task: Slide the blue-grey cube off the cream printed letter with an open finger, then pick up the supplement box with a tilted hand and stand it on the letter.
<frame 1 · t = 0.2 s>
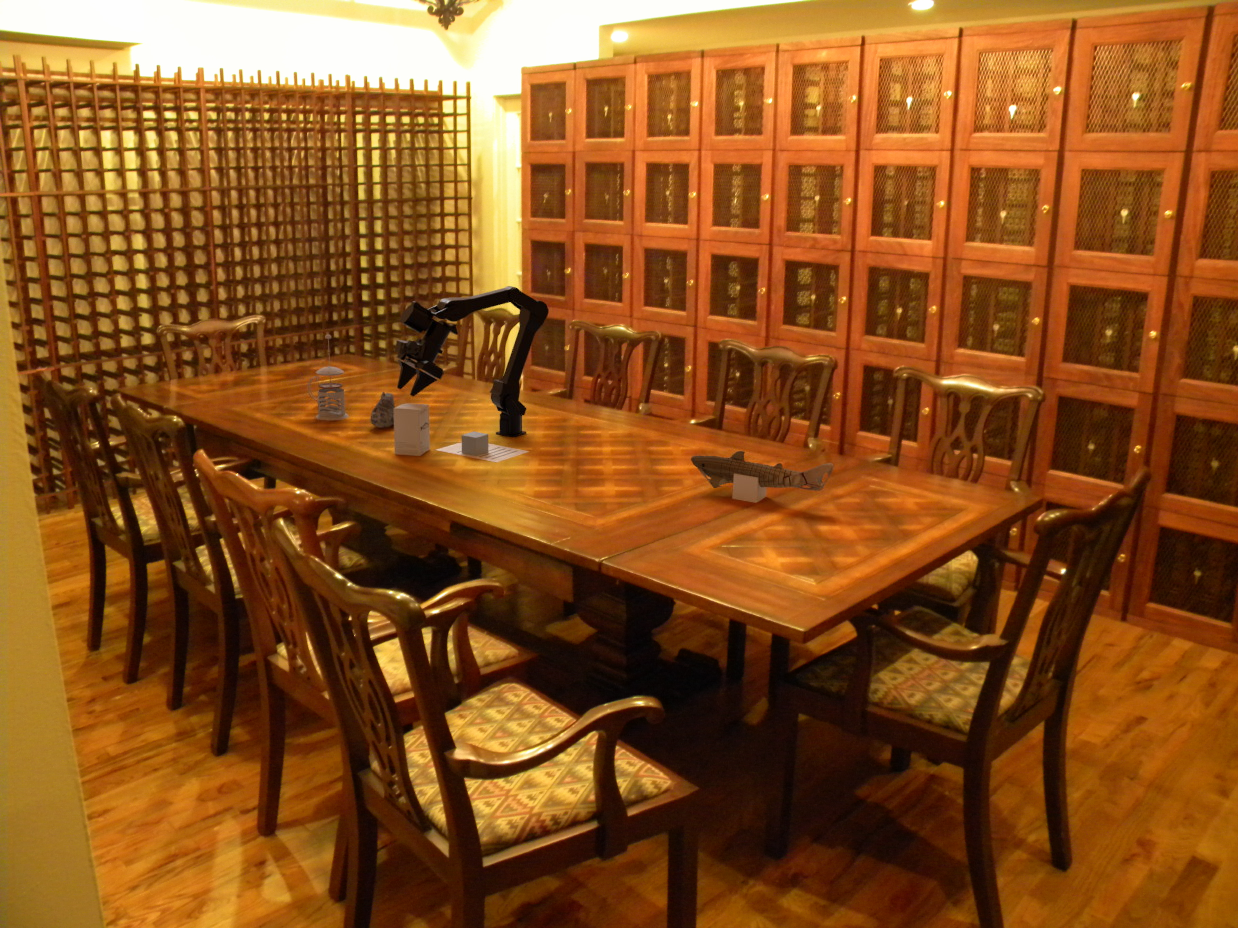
hand: (405, 392, 286), 15 cm above the table, fingers open, 9 cm apart
cube: (475, 452, 284), resting on letter
wood carving: (757, 499, 249), on the table
supplement box: (412, 453, 284), on the table
letter: (482, 451, 286), on the table
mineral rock: (382, 426, 312), on the table
french press: (329, 417, 322), on the table
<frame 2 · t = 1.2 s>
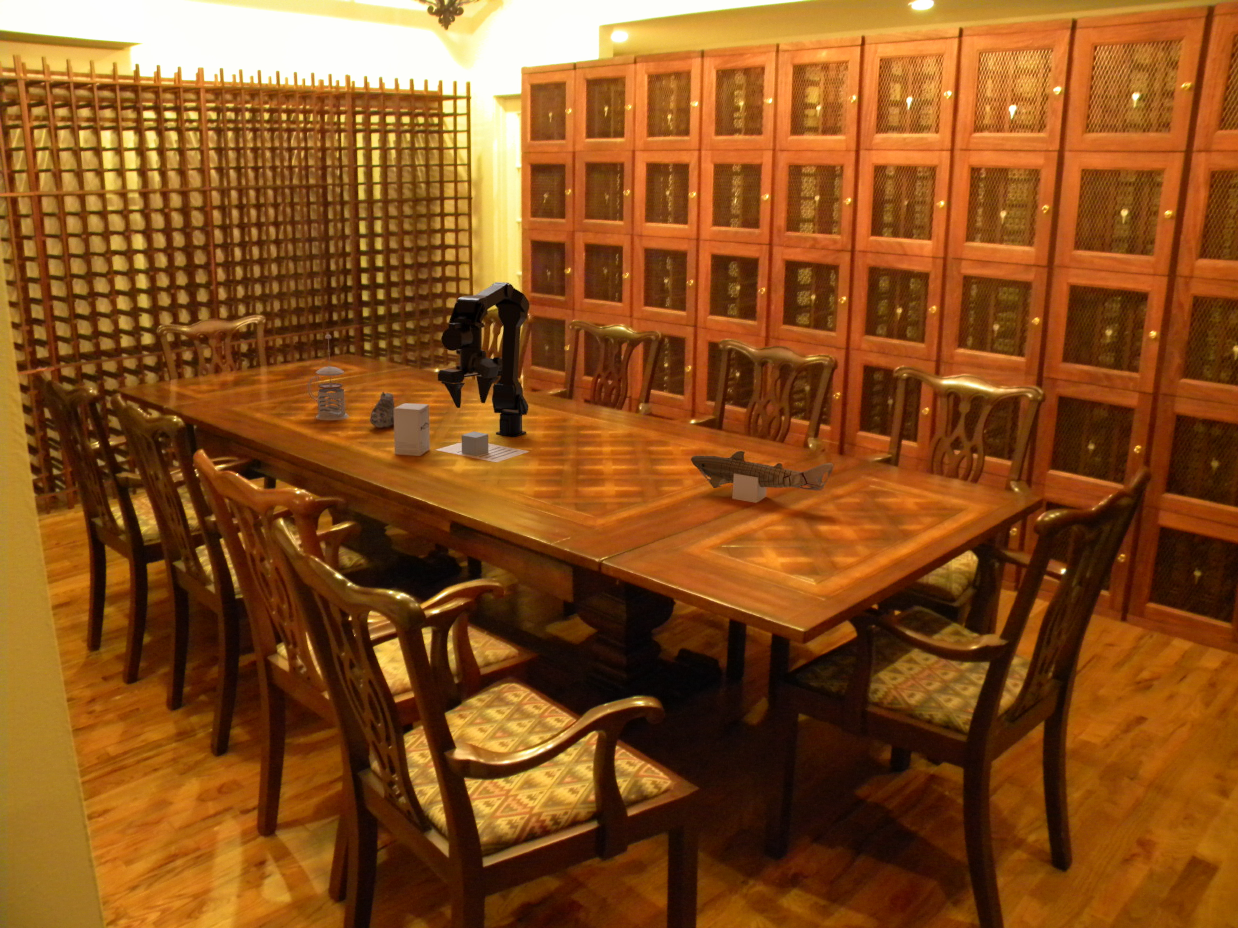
hand: (470, 405, 280), 13 cm above the table, fingers open, 9 cm apart
nothing on the table moved.
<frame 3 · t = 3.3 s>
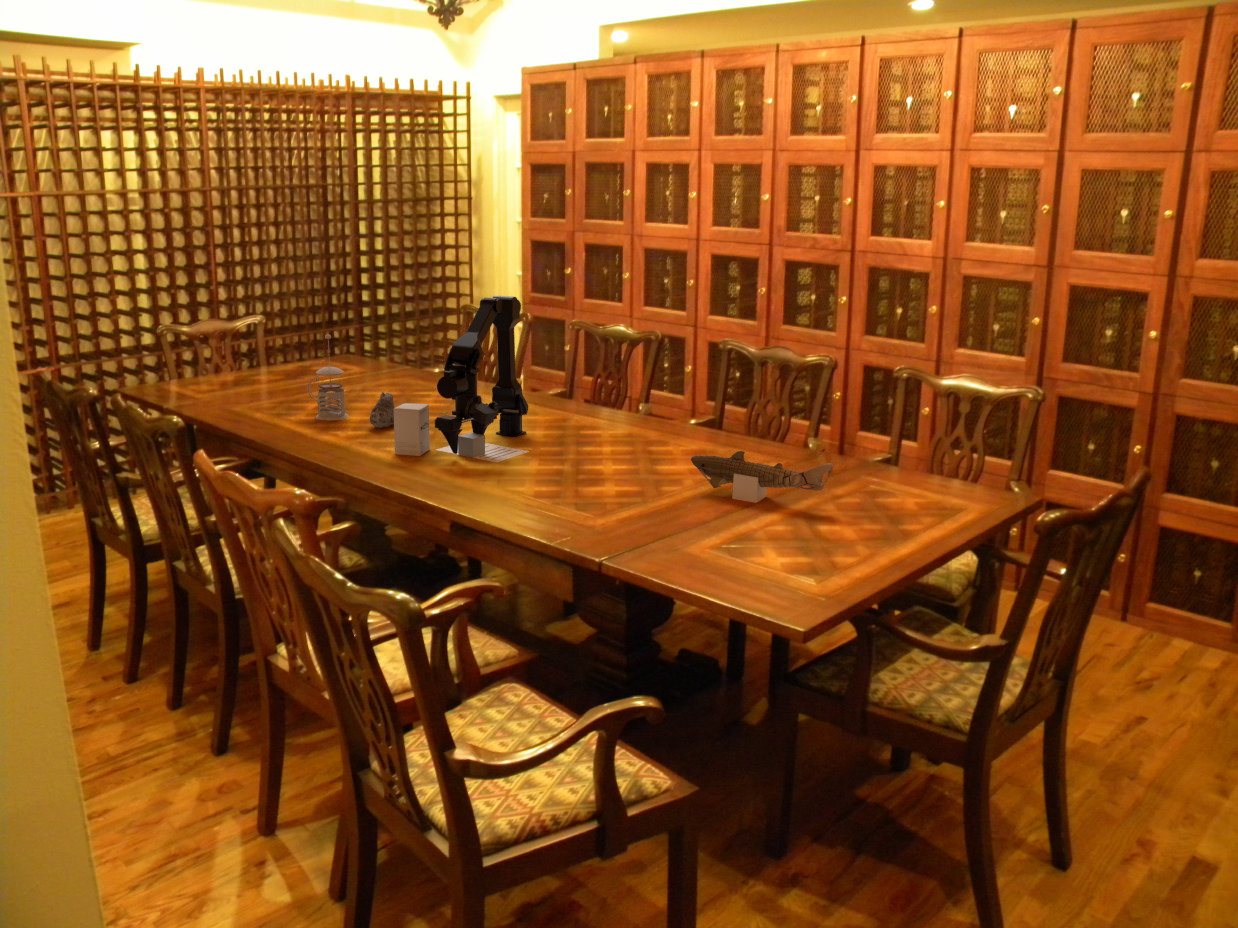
hand: (466, 450, 280), 2 cm above the table, fingers open, 9 cm apart
cube: (471, 454, 282), resting on letter
everything else where it was.
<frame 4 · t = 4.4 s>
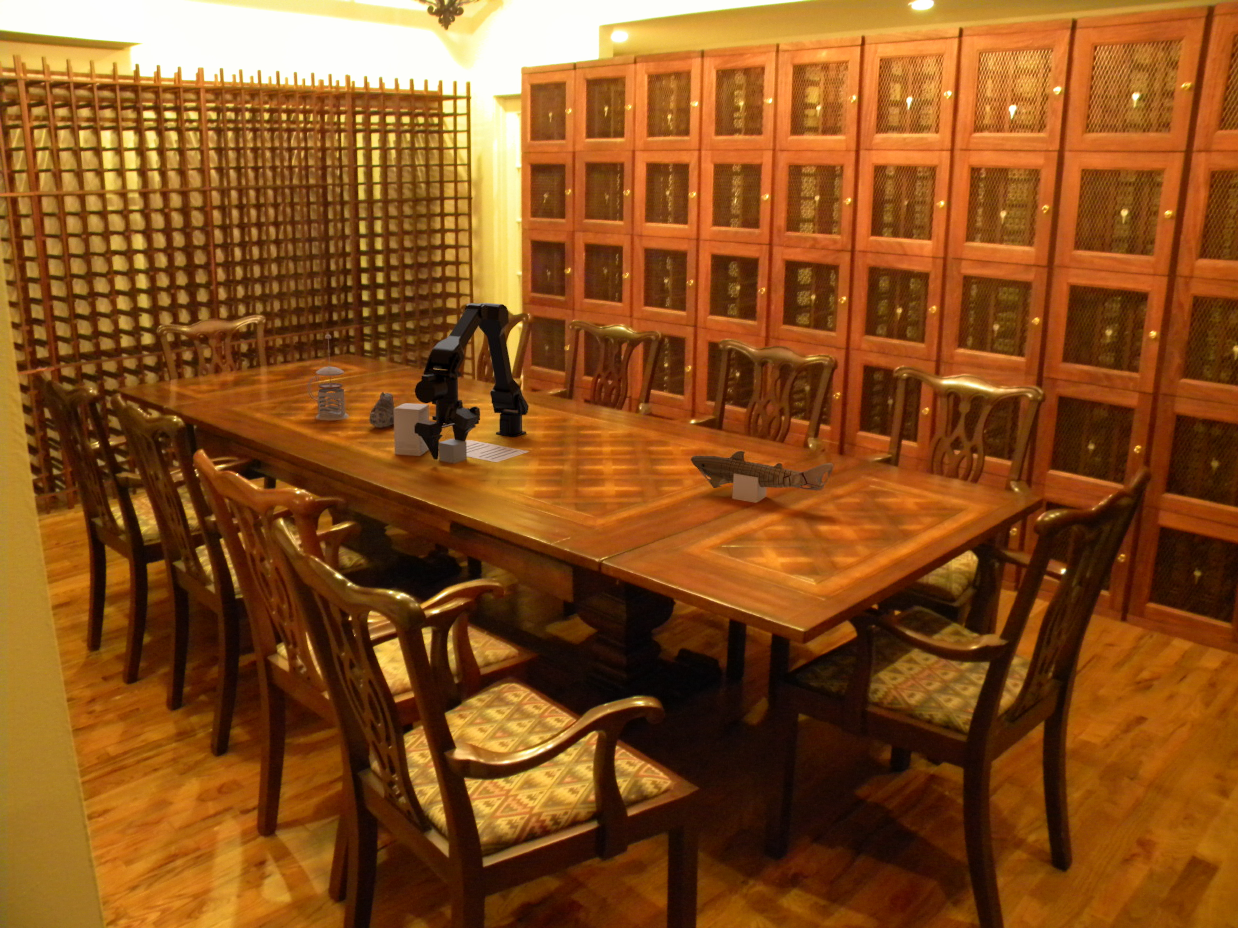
hand: (447, 455, 274), 2 cm above the table, fingers open, 9 cm apart
cube: (453, 460, 276), on the table
everything else where it was.
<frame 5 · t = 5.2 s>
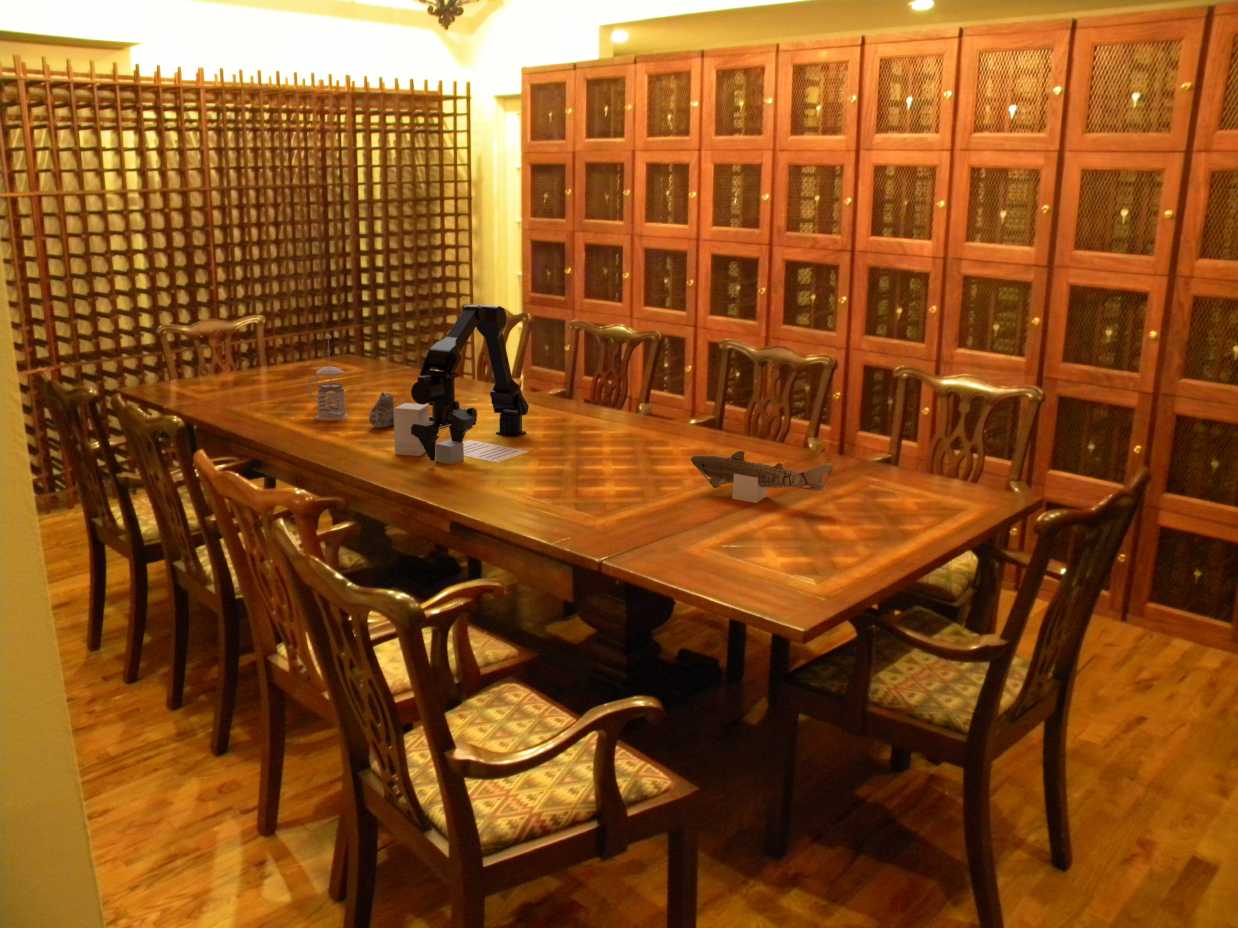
hand: (444, 457, 273), 2 cm above the table, fingers open, 9 cm apart
cube: (450, 462, 275), on the table, touching gripper
everything else where it was.
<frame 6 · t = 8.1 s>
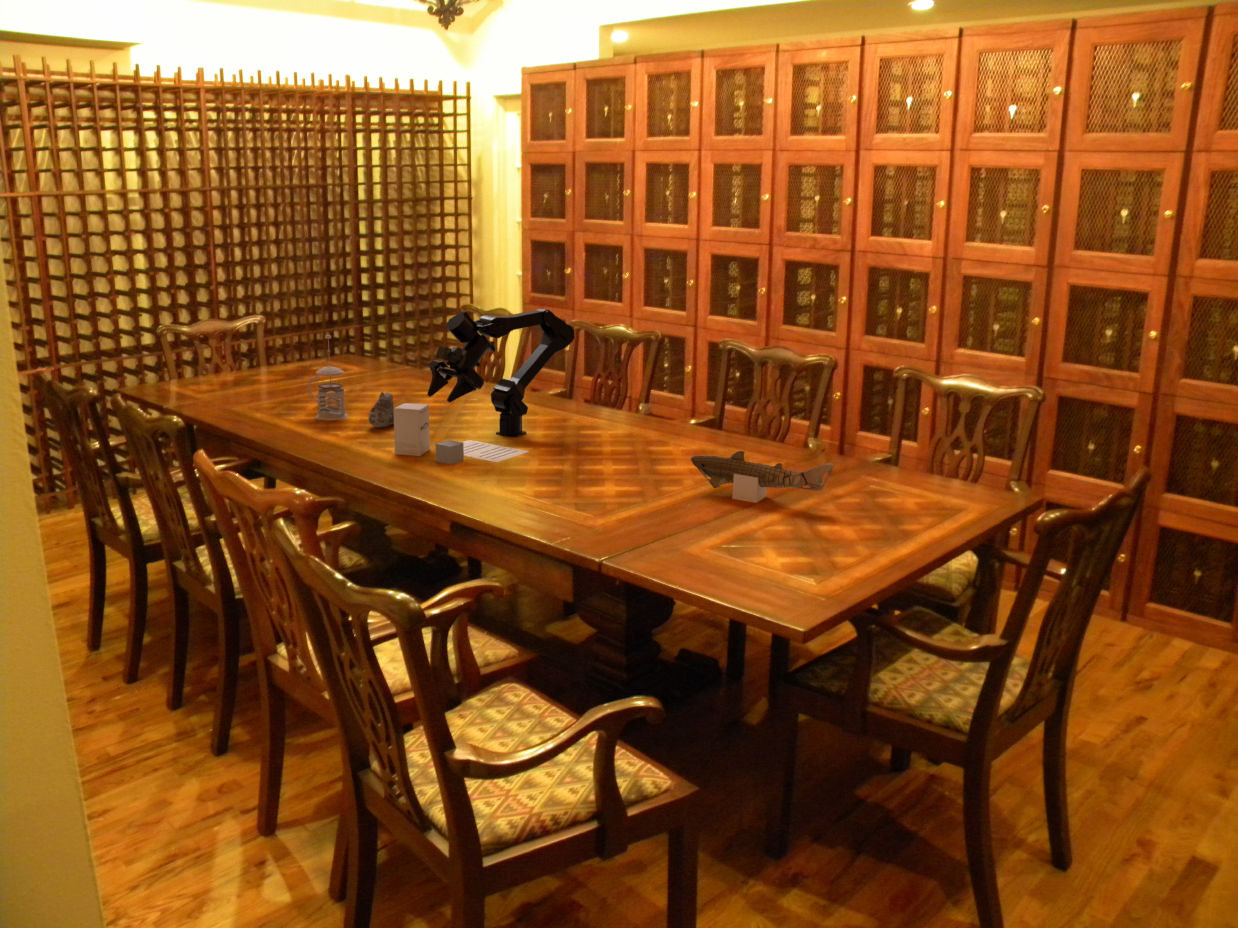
hand: (438, 398, 286), 13 cm above the table, fingers open, 9 cm apart
cube: (450, 462, 275), on the table
everything else where it was.
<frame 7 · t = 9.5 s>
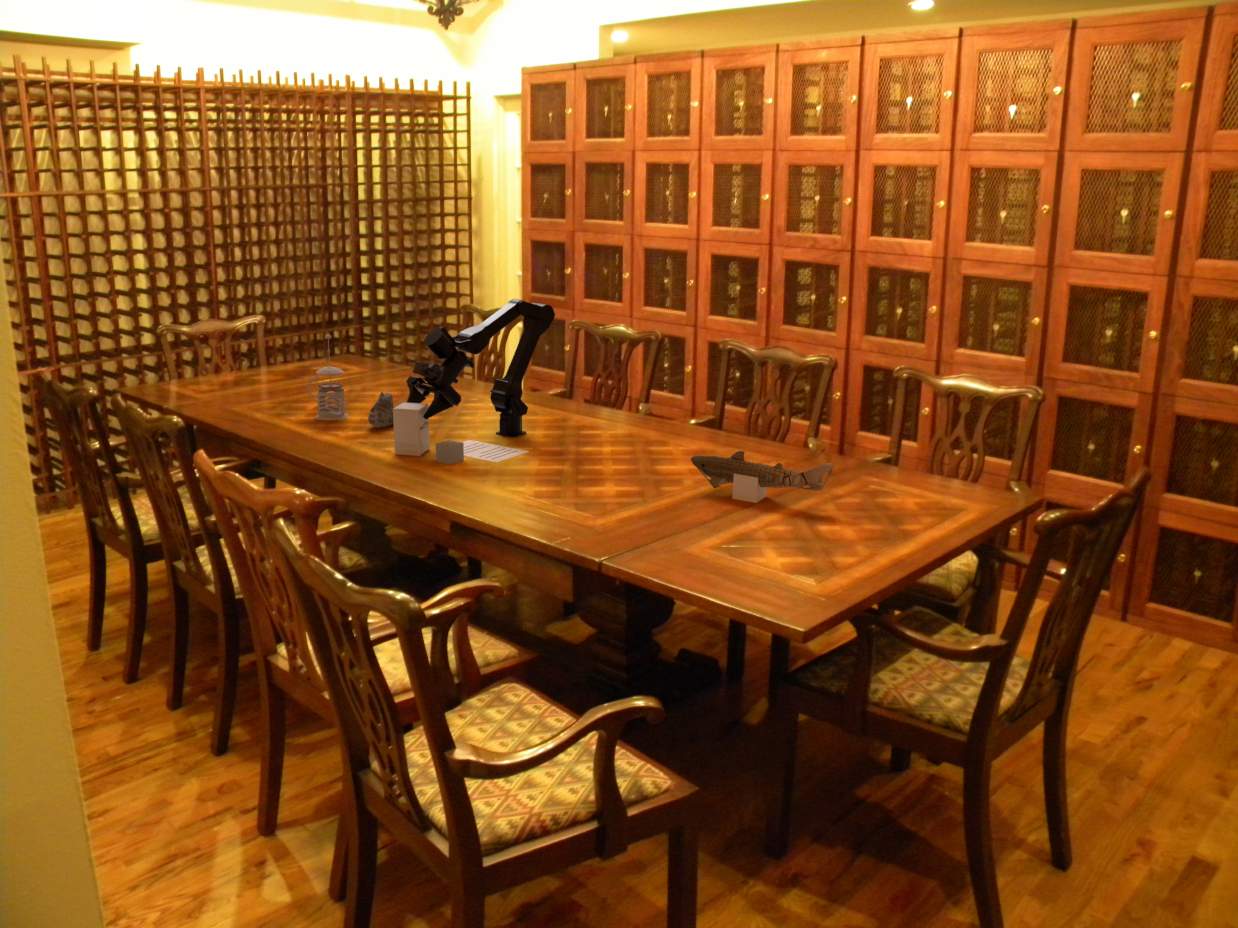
hand: (414, 415, 282), 10 cm above the table, fingers open, 9 cm apart
supplement box: (412, 452, 283), on the table, touching gripper
everything else where it was.
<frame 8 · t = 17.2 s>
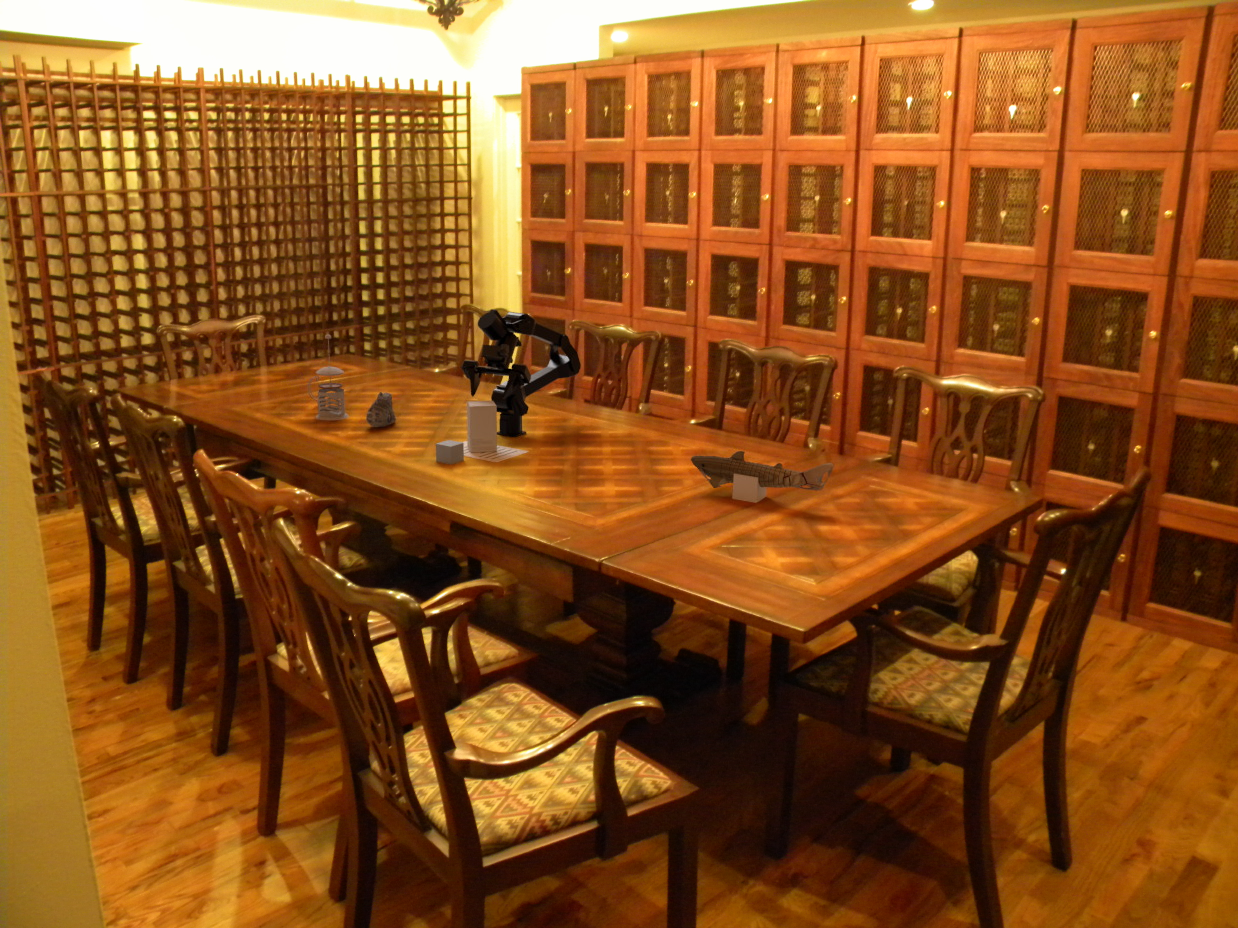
hand: (487, 397, 288), 14 cm above the table, fingers open, 9 cm apart
supplement box: (482, 449, 288), resting on letter
at the end: supplement box inside the target area on the letter (1.7 cm from its centre), point 0.0 cm above the letter's base; supplement box tilted 0°; cube touching table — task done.
